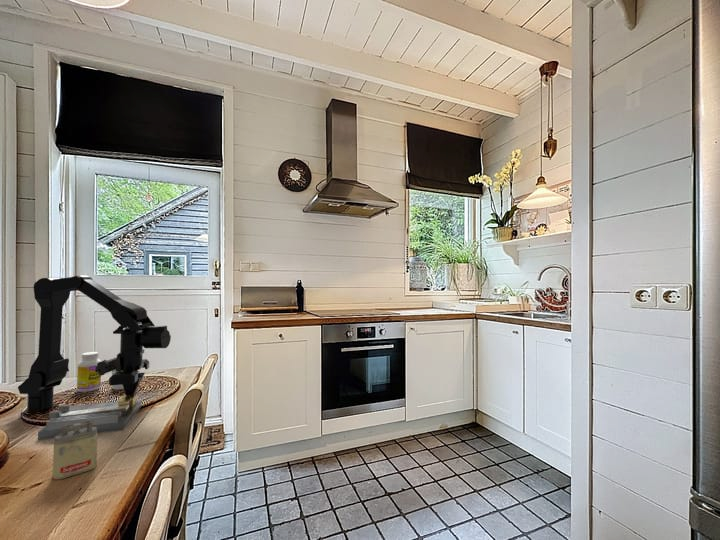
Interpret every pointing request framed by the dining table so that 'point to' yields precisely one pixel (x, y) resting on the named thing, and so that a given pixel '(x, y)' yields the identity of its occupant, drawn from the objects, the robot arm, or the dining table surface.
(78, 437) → the pale red-labelled box
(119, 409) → the strap
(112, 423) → the grey stone tray
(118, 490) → the dining table surface
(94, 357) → the supplement bottle
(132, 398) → the pale yellow lumpy block
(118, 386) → the white cup
